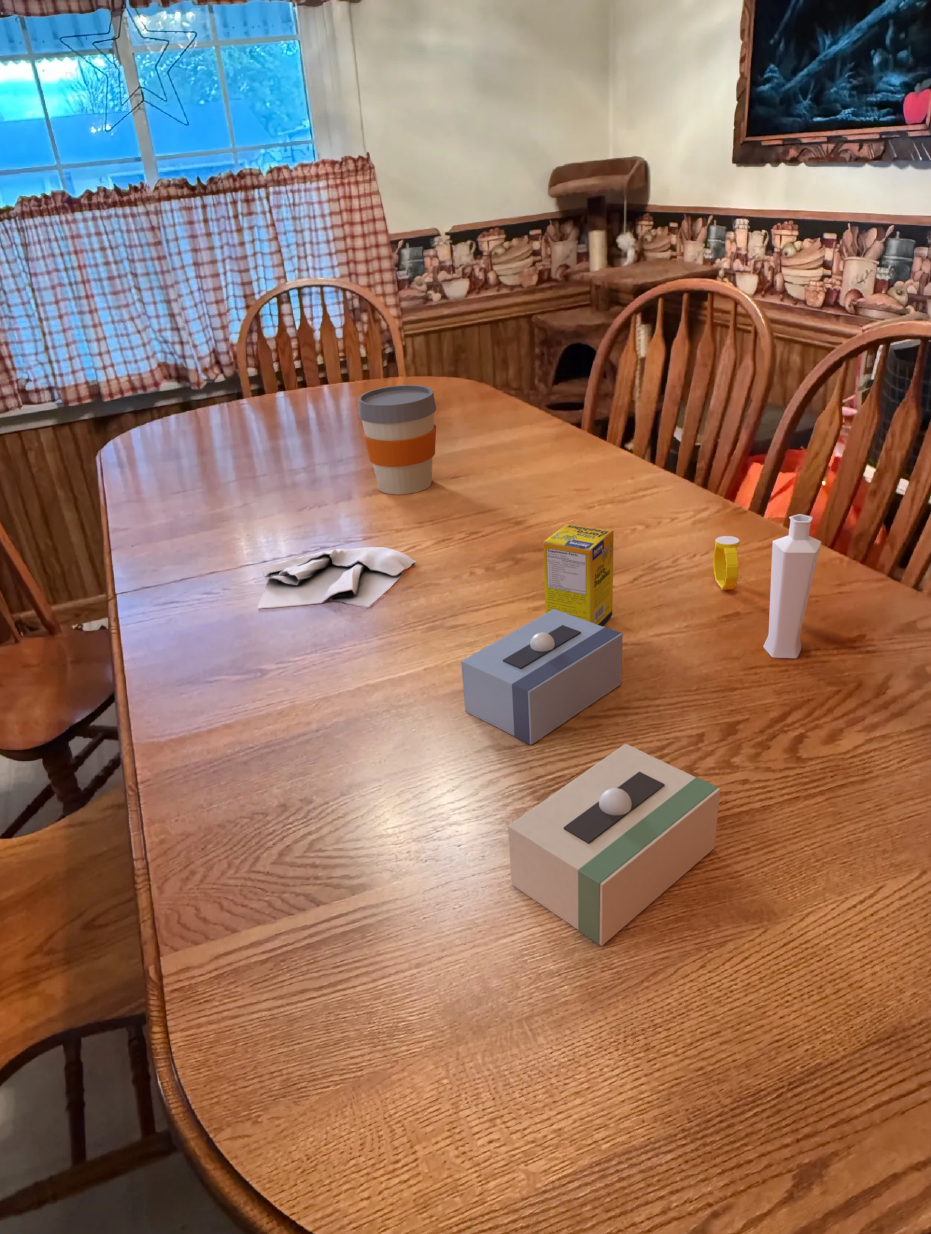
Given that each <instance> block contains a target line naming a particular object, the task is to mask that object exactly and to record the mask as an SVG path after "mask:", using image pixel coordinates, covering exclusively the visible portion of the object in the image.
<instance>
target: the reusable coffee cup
mask: <svg viewBox="0 0 931 1234" xmlns="http://www.w3.org/2000/svg"><path fill="white" fill-rule="evenodd" d="M436 411H437V405H436V400H435V394H434V390H433V389H432V388H431V387H428V386H424V385H417V384H402V385H401V384H400V385H391V386H384V387H379V388H375V389H372V390H368V391H365V392H364V393H362V394H361V395H359V396H358V418H359V419H360V420H361V423H362V426H363V430H364V431H363V432H362V436H363V440H364V446H365V448H366V453H367V456H368V460H369V462H370V463H371V464H372V466H373V470H374V474H375V478H376V482H377V486H378V490H379V491H380V492H381V493H384V494H389V495H411V494H416V493H419V492H422V491H424V490H426V489H428V488H430V487H431V485H432V482H433V481H432V480H433V479H432V478H433V458H434V456H435V455H436V440H437V439H436V438H437V426H436V424H435V412H436Z"/></svg>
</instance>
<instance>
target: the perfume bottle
mask: <svg viewBox="0 0 931 1234" xmlns="http://www.w3.org/2000/svg"><path fill="white" fill-rule="evenodd" d="M788 518H789V520H790V522H789V529H788V535H784V536H782V537H779V538H777V539H774V540H772V544H771V572H770V590H769V591H770V592H769V593H770V595H769V615H768V616H769V617H768V635H767V637H766V639H765V642H764V644H763V646H762V647H763V649H764V650H765V652H766V653H768V655H769V656H770V657H771V658H772V659H773V658H774V659H798V658H799V655H800V654H801V651H802V642H801V633H802V629H803V624H804V620H805V615H806V610H807V606H808V602H809V597H810V593H811V590H812V585H813V581H814V576H815V571H816V568H817V563H818V560H819V559H818V558H819V554H820V551H821V546H822V541H821V540H820V539H817V538H815V537H813V536H811V535H810V530H811V529H810V528H811V522H812V521H813V518H814V517H813V516H811V515H806V514H802V513H798V514H794V515H791V516H789V517H788Z"/></svg>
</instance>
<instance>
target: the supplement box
mask: <svg viewBox="0 0 931 1234" xmlns="http://www.w3.org/2000/svg"><path fill="white" fill-rule="evenodd" d="M542 545H543V546H542V547H543V549H542V550H543V552H542V553H543V583H544V584H543V587H544V589H543V590H544V612H545V613H544V614H546V613H548V612H549V611H551V610H553V609H555V610H558V611H561V612H564V613H566V614H569V615H572V616H575V617H577V618H580V619H583V620H586V621H588V622H591V623H594V624H597V625H600V626H602V627H603V626H604V624H605V623H606V622H607V621H608V620H609V619H610V618H611V617H613V597H614V596H613V594H614V589H613V588H614V530H613V529H606V528H600V527H593V526H586V525H579V524H574V523H568V522H567V523H566V524H564V525H563V526H562V527H561V528H559V529H558V530H557V531H555V532H554V533H552V534H551V535H550V536H548V537H547V538H546V539H545V540H544V541H543V543H542Z"/></svg>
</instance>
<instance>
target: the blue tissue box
mask: <svg viewBox="0 0 931 1234" xmlns="http://www.w3.org/2000/svg"><path fill="white" fill-rule="evenodd" d="M623 637H624V636H623V633H622V632H621V631H618V630H615V629H612V628H610V627H607V626H603V625H602V626H600V625H597V624H594V623H591V622H588V621H586V620H583V619H580V618H577V617H575V616H572V615H569V614H566V613H564V612H561V611H558V610H555V609H553V610H551V611H549V612H548V613H546V614H545V613H544V614H542V615H540V616H538V617H537V618H535V619H534V620H532V621H530V622H528V623H526V624H525V625H523V626H521V627H519V628H517V629H516V630H514V631H512V632H511V633H508V634H506V635H505V636H503V637H501V638H500V639H498V640H496V641H494V642H492V643H491V644H488V645H487V646H486V647H484V648H482V649H480V650H478V651H476V652H475V653H473V654H471V655H469V656H468V657H466V658H464V659H462V660H461V661H460V665H461V677H462V689H463V690H462V691H463V701H464V702H463V703H464V712H466V713H468V714H469V715H472V716H473V717H475V718H478V719H479V720H481V721H483V722H485V723H487V724H489V725H491V726H493V727H495V728H498V729H499V730H501V731H503V732H505V733H506V734H508V735H511V736H513V737H514V738H516V739H517V740H520V741H521V742H523V743H526V744H527V745H534V744H535V743H537V742H538V741H539V740H541V739H543V737H545V736H546V735H548V734H550V733H551V732H553V731H554V730H556V729H557V728H558V727H560V726H562V725H563V724H565V723H566V722H567V721H569V720H570V719H572V718H574V717H575V716H576V715H579V713H581V712H582V711H584V710H585V709H587V708H588V707H590V706H591V705H593V704H594V703H596V702H597V701H599V700H600V699H602V698H603V697H605V696H606V695H607V694H609V693H611V692H612V691H614V690H615V689H616V688H618V687H619V686H621V685H622V672H623V671H622V670H623V668H622V667H623V665H622V664H623Z"/></svg>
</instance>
